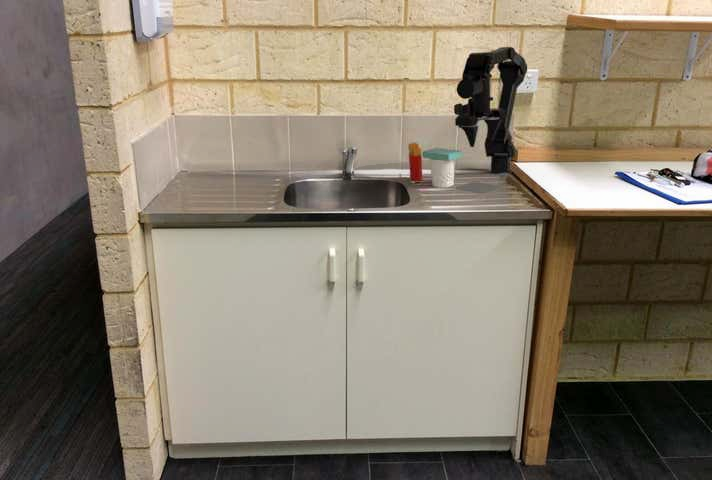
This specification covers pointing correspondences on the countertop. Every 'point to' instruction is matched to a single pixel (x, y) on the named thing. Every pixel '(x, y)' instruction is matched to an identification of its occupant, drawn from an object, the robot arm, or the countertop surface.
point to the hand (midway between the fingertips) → (481, 144)
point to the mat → (478, 187)
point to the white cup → (442, 172)
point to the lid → (442, 154)
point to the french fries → (415, 162)
